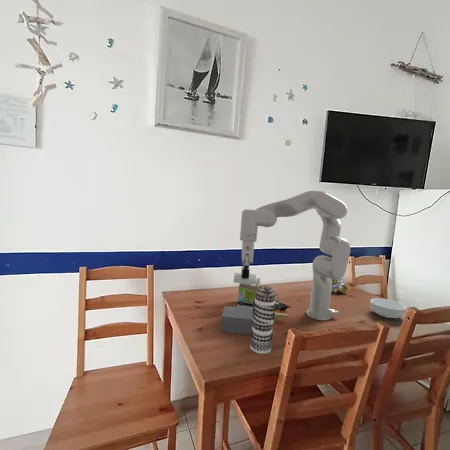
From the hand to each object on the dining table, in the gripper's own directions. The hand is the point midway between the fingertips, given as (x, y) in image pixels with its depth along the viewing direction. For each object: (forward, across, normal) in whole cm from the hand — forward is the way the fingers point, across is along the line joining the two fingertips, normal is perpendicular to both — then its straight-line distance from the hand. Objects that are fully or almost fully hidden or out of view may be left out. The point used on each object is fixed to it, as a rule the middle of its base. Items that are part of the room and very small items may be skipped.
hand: (245, 276), depth 137 cm
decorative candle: (+23, -19, -8) cm, 31 cm away
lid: (+2, 0, 0) cm, 2 cm away
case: (+23, -3, 0) cm, 23 cm away
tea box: (+24, +22, -3) cm, 32 cm away
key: (+23, +8, -17) cm, 30 cm away
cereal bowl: (+24, +27, -78) cm, 86 cm away
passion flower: (+24, +62, -62) cm, 91 cm away
